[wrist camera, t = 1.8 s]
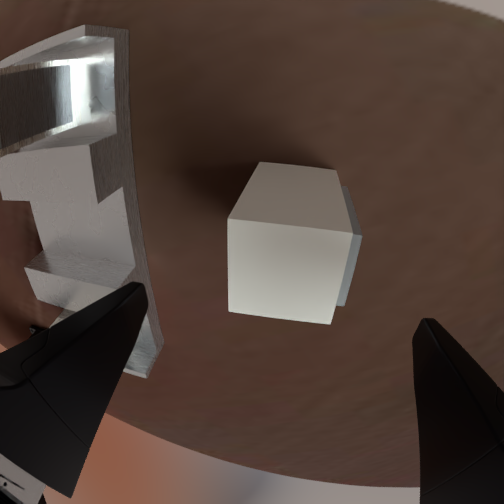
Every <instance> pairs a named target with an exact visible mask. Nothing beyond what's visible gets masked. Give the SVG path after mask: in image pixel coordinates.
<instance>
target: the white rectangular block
mask: <svg viewBox="0 0 504 504" xmlns="http://www.w3.org/2000/svg"><path fill="white" fill-rule="evenodd" d="M361 240H362V232H361V229H360V226H359V222H358V219H357V216H356V212H355V209H354V206H353V203H352V200H351V197H350V194H349V191H348V188H347V187H346V186H341V185H340V182H339V178H338V175H337V172H336V170H332V169H324V168H316V167H307V166H299V165H289V164H279V163H268V162H259V164H258V166H257V167H256V169H255V171H254V173H253V174H252V176H251V178H250V180H249V181H248V183H247V185H246V187H245V188H244V190H243V192H242V194H241V195H240V197H239V199H238V201H237V203H236V204H235V206H234V208H233V210H232V211H231V213H230V215H229V217H228V304H229V311H230V312H236V313H243V314H250V315H257V316H264V317H272V318H280V319H288V320H296V321H304V322H313V323H322V324H331V321H332V317H333V313H334V310H335V306H336V305H337V306H344V305H345V301H346V298H347V294H348V291H349V287H350V283H351V280H352V276H353V272H354V268H355V264H356V260H357V256H358V252H359V248H360V244H361Z"/></svg>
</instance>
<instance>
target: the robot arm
mask: <svg viewBox="0 0 504 504" xmlns="http://www.w3.org/2000/svg"><path fill="white" fill-rule="evenodd" d="M148 305H149V303H148V298H147V293H146V288H145V285H144V284H143V283H141V282H135V281H132V282H130V283H128V284H126V285H124V286H122V287H121V288H119V289H117V290H115V291H113V292H111V293H110V294H108V295H106V296H104V297H102V298H101V299H99V300H97V301H95V302H93V303H92V304H90V305H88V306H86V307H84V308H83V309H81V310H79V311H77V312H76V313H74V314H72V315H70V316H69V317H67V318H65V319H63V320H62V321H60V322H58V323H56V324H55V325H53V326H51V327H50V328H48V329H46V330H41V329H39V328H36V327H34V326H31V327H30V328H29V329H30V331H31V333H32V335H31V337H30V338H29V339H28V340H26V341H24V342H22V343H20V344H18V345H16V346H14V347H12V348H10V349H8V350H6V351H4V352H2V353H0V504H46V501H45V498H44V495H43V491H44V489H45V487H46V485H47V486H49V487H51V488H52V489H54V490H56V491H58V492H59V493H61V494H63V495H65V496H67V497H69V498H71V497H72V495H73V492H74V489H75V487H76V484H77V481H78V478H79V476H80V473H81V470H82V468H83V465H84V463H85V460H86V457H87V455H88V452H89V448H90V447H91V444H92V442H93V439H94V437H95V434H96V432H97V430H98V427H99V425H100V422H101V420H102V418H103V415H104V413H105V411H106V408H107V406H108V404H109V401H110V399H111V397H112V395H113V392H114V390H115V388H116V386H117V383H118V381H119V379H120V377H121V374H122V372H123V370H124V368H125V366H126V364H127V361H128V359H129V357H130V355H131V353H132V351H133V349H134V346H135V344H136V341H137V338H138V335H139V332H140V329H141V327H142V324H143V321H144V318H145V315H146V313H147V310H148ZM412 347H413V372H414V389H415V397H416V407H417V418H418V431H419V448H420V504H504V392H503V391H502V390H501V389H500V388H499V387H497V384H496V383H495V382H494V381H493V380H492V379H491V378H490V376H489V375H488V374H487V373H486V372H485V371H484V370H483V369H482V368H481V366H480V365H479V364H478V363H477V362H476V361H475V360H474V359H473V358H472V357H471V356H470V355H469V353H468V352H467V351H466V350H465V349H464V348H463V347H462V346H461V345H460V344H459V343H458V342H457V341H456V340H455V339H454V338H453V337H452V336H451V335H450V334H449V333H448V332H447V331H446V330H445V329H444V328H443V327H442V326H441V325H440V324H439V323H438V322H437V321H436V320H435V319H433V318H423V319H422V320H421V322H420V324H419V326H418V328H417V330H416V332H415V334H414V336H413V340H412Z"/></svg>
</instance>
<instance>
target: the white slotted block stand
mask: <svg viewBox="0 0 504 504" xmlns="http://www.w3.org/2000/svg"><path fill="white" fill-rule="evenodd" d="M0 191H1V195H2V199H3V200H17V201H30V204H31V208H32V211H33V215H34V219H35V223H36V226H37V230H38V233H39V237H40V240H41V243H42V246H43V251H41V252H40V253H39V254H38V255H37V256H36V257H35V258H34V259H32V260H31V261H30V262H29V263H28V264H27V265H26V266H25V267H24V268H25V271H26V273H27V276H28V278H29V281H30V283H31V286H32V288H33V290H34V293H35V295H36V297H37V300H40V301H43V302H46V303H49V304H52V305H56V306H59V307H62V308H65V309H64V310H63V311H62V313H61V314H60V315H59V316H58V318H57V319H56V320H55V321H54V323H53V324H52V325H51V326H53V325H55V324H56V323H58V322H60V321H62V320H63V319H65V318H67V317H69V316H70V315H72V314H74V313H76V312H77V311H79V310H81V309H83V308H84V307H86V306H88V305H90V304H92V303H93V302H95V301H97V300H99V299H101V298H102V297H104V296H106V295H108V294H110V293H111V292H113V291H115V290H117V289H119V288H121V287H122V286H124V285H126V284H128V283H130V282H132V281H135V282H141V283H143V284H144V285H145V288H146V293H147V298H148V303H149V305H148V310H147V313H146V315H145V318H144V321H143V324H142V327H141V329H140V332H139V335H138V338H137V341H136V344H135V346H134V349H133V351H132V353H131V355H130V357H129V359H128V361H127V364H126V366H125V368H124V370H123V372H127V373H130V374H133V375H137V376H140V377H144V378H147V377H148V375H149V373H150V371H151V369H152V367H153V365H154V363H155V361H156V359H157V357H158V355H159V353H160V351H161V349H162V347H163V345H164V340H163V335H162V331H161V327H160V323H159V318H158V314H157V309H156V305H155V300H154V295H153V290H152V285H151V280H150V275H149V270H148V264H147V258H146V253H145V247H144V241H143V234H142V228H141V221H140V214H139V206H138V199H137V190H136V182H135V172H134V162H133V151H132V138H131V123H130V102H129V30H126V29H120V28H112V27H104V26H96V25H82V26H79V27H76V28H73V29H71V30H68V31H65V32H62V33H60V34H57V35H55V36H52V37H50V38H47V39H45V40H43V41H40V42H38V43H36V44H34V45H31V46H29V47H27V48H25V49H23V50H21V51H19V52H17V53H15V54H13V55H11V56H9V57H7V58H5V59H3V60H1V61H0ZM51 326H50V327H51Z"/></svg>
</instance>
